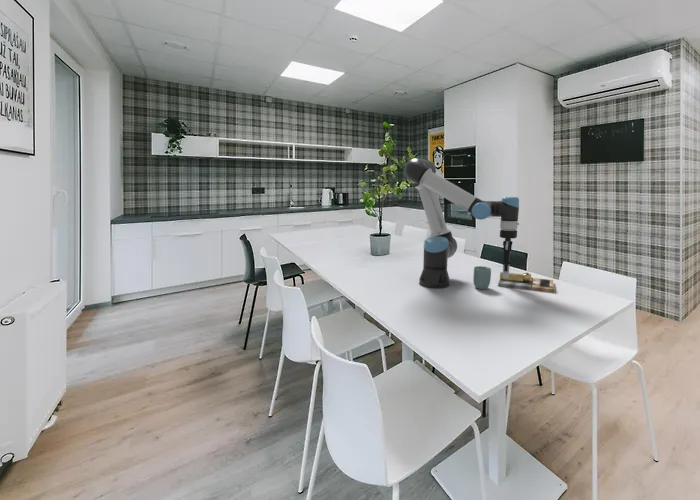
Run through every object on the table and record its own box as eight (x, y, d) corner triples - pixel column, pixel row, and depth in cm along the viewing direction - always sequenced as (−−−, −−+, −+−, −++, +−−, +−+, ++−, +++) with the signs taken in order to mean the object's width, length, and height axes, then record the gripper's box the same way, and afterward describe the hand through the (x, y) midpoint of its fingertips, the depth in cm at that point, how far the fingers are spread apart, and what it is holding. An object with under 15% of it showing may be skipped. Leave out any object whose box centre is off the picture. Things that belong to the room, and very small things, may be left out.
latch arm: (530, 280, 173) (531, 272, 173) (530, 282, 170) (531, 274, 169) (500, 277, 180) (500, 269, 179) (499, 279, 176) (500, 271, 176)
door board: (498, 286, 171) (498, 277, 171) (501, 277, 187) (502, 269, 186) (554, 292, 160) (555, 283, 160) (552, 283, 176) (553, 274, 175)
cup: (491, 291, 164) (492, 270, 162) (473, 290, 166) (475, 269, 164) (488, 286, 172) (489, 266, 170) (471, 285, 173) (472, 265, 171)
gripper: (516, 231, 159) (513, 281, 163) (517, 228, 170) (514, 275, 174) (498, 230, 162) (495, 279, 167) (501, 227, 174) (498, 273, 178)
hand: (505, 277), depth 171 cm, fingers closed
